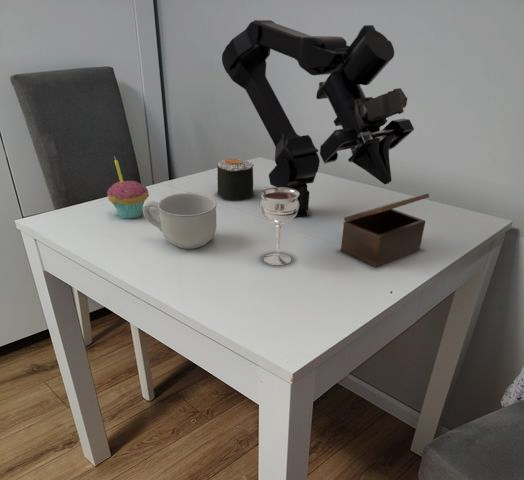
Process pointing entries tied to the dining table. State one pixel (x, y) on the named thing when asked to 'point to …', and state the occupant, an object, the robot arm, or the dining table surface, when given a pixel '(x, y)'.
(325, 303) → the dining table surface
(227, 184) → the sushi
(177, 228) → the teacup
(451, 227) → the dining table surface
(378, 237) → the chest
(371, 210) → the lid
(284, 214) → the wineglass
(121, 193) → the cupcake
